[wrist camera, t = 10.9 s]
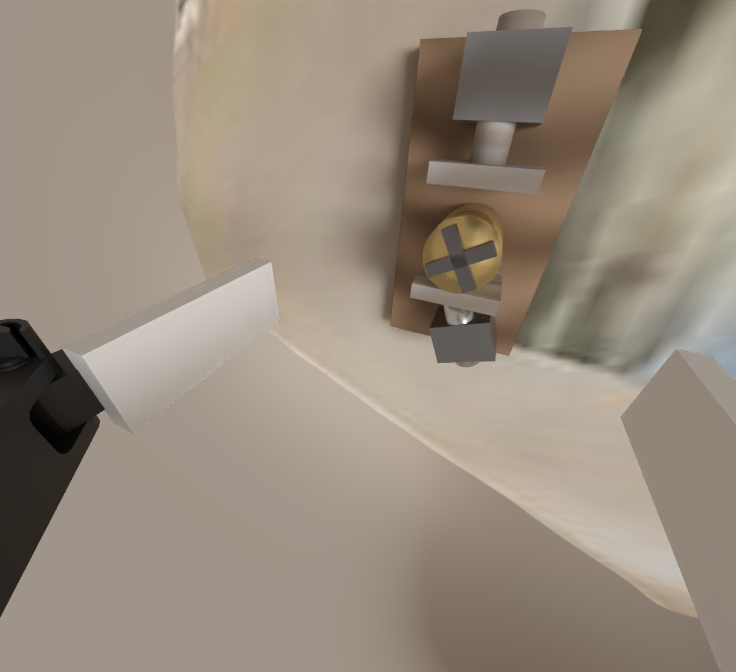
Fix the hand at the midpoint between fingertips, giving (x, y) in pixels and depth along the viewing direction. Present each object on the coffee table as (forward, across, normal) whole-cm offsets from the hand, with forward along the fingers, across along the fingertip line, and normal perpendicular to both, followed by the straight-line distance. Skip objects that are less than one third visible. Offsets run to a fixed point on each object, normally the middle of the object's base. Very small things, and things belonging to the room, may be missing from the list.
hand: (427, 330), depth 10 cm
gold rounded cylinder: (+17, 0, -1) cm, 17 cm away
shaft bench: (+18, 0, 0) cm, 18 cm away
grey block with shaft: (+17, +1, -8) cm, 18 cm away
